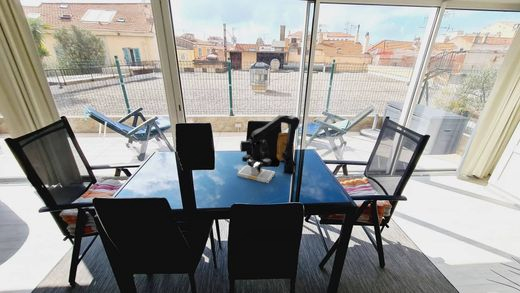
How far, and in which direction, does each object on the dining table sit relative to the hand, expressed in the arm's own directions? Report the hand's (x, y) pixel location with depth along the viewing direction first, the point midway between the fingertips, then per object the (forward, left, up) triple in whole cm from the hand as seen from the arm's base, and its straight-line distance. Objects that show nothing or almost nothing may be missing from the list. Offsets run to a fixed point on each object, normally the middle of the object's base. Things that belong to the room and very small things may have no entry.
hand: (256, 171), depth 146 cm
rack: (0, 0, -3) cm, 3 cm away
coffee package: (-10, -32, -3) cm, 34 cm away
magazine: (+8, -26, -3) cm, 27 cm away
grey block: (0, 0, -1) cm, 1 cm away
